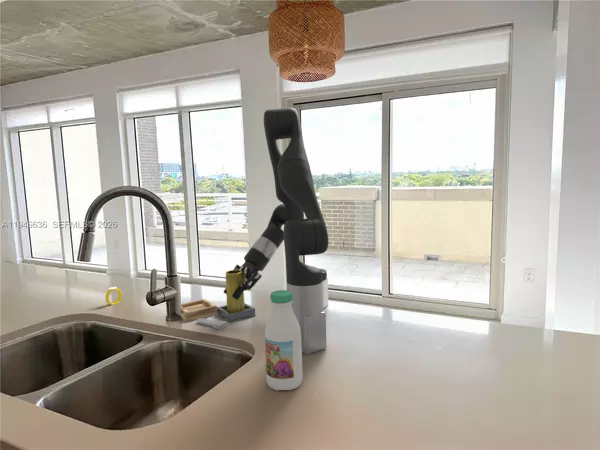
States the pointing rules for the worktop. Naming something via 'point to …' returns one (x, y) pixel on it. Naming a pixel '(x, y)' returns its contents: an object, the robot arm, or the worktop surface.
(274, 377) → the milk bottle
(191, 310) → the wooden tray
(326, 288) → the jar
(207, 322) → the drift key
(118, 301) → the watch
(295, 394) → the worktop surface
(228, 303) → the vase
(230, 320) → the grey square shallow tray
